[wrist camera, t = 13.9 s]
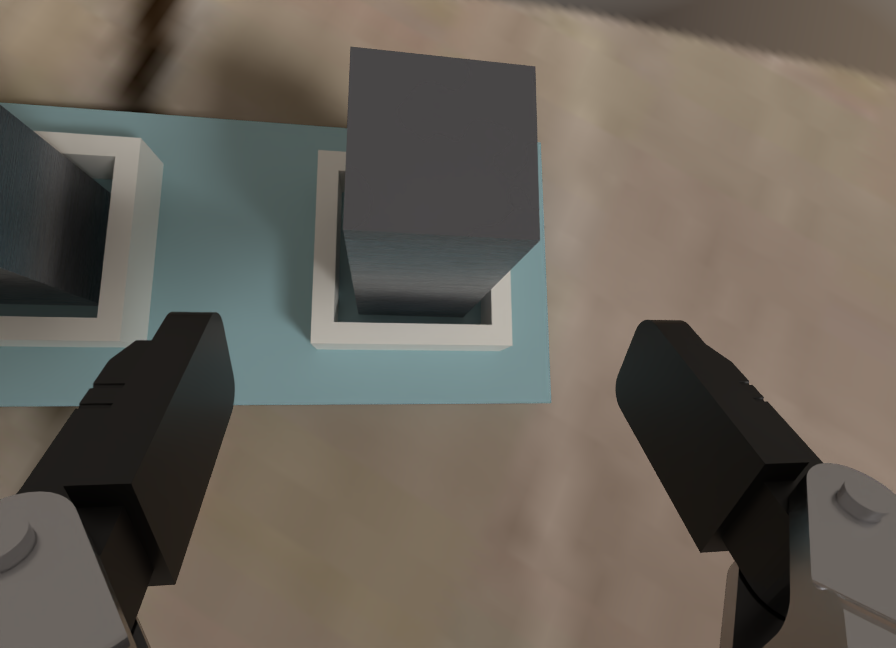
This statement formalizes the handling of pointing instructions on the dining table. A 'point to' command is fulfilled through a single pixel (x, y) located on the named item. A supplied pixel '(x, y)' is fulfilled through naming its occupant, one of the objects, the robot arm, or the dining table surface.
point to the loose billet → (437, 179)
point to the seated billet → (47, 223)
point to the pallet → (257, 274)
